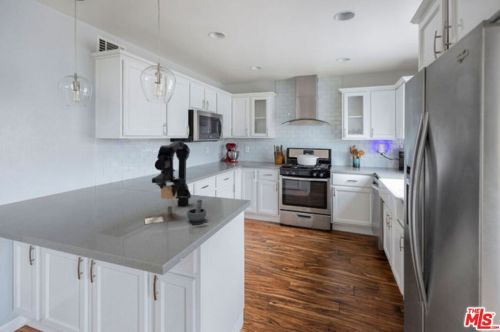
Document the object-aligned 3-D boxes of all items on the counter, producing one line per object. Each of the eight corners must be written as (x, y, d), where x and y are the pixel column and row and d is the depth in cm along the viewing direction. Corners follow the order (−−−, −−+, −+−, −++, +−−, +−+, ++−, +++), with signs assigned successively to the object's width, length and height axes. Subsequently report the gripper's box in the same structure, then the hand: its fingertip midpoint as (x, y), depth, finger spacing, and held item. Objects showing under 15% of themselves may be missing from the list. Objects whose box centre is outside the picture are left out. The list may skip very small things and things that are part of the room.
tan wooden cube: (176, 196, 145) (176, 185, 145) (170, 199, 140) (169, 187, 139) (168, 196, 147) (167, 184, 147) (161, 198, 142) (160, 186, 141)
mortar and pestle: (202, 227, 130) (201, 204, 129) (184, 226, 132) (184, 203, 130) (209, 220, 141) (208, 199, 140) (193, 219, 143) (192, 198, 141)
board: (176, 215, 150) (176, 204, 150) (180, 222, 138) (180, 210, 137) (143, 219, 143) (142, 208, 142) (144, 227, 130) (143, 215, 130)
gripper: (143, 169, 137) (145, 197, 139) (172, 170, 131) (174, 200, 133) (158, 166, 148) (159, 193, 150) (185, 168, 141) (186, 195, 143)
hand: (169, 195), depth 143 cm, fingers closed on tan wooden cube, 6 cm apart
